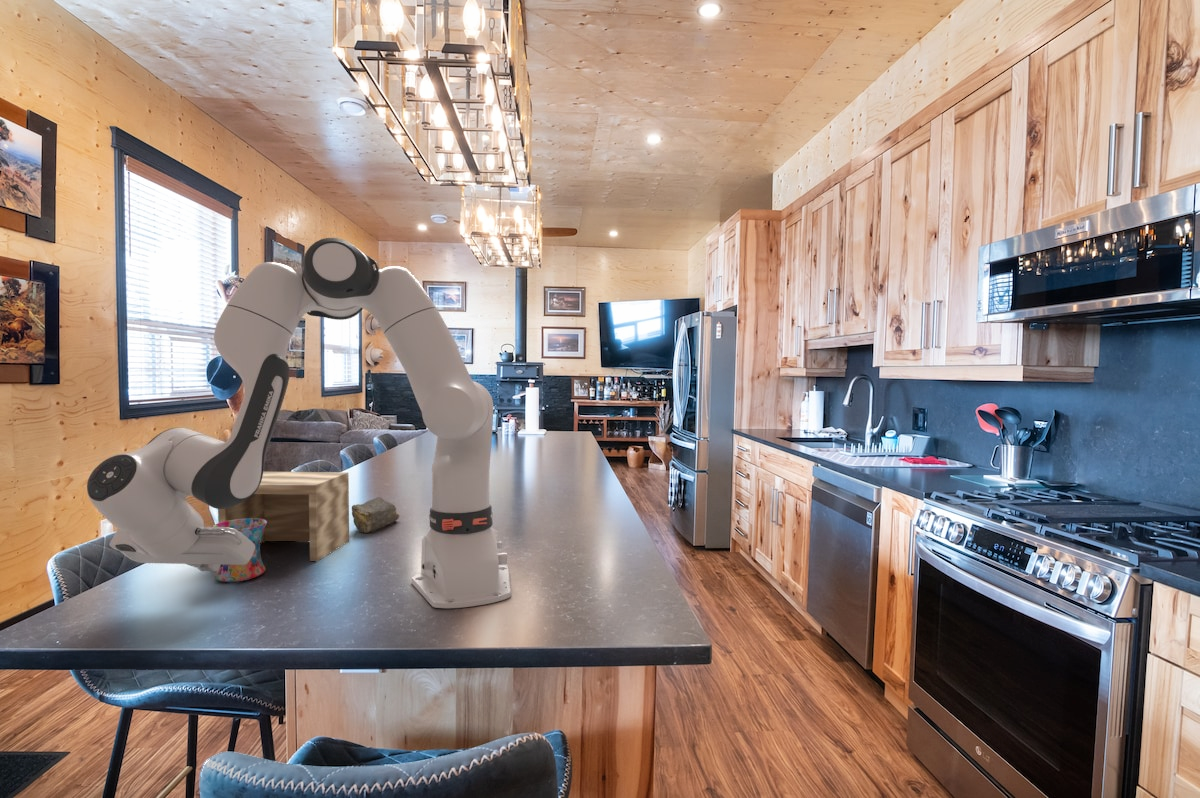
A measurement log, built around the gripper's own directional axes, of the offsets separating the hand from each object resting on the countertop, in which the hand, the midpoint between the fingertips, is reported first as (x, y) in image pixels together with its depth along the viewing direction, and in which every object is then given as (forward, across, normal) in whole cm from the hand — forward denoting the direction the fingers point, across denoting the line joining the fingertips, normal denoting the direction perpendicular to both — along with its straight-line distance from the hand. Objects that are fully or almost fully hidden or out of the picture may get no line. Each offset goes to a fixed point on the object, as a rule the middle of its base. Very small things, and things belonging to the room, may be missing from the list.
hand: (211, 567), depth 107 cm
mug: (+10, 0, -3) cm, 11 cm away
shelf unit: (+20, 0, -14) cm, 25 cm away
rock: (+36, -12, -29) cm, 48 cm away
